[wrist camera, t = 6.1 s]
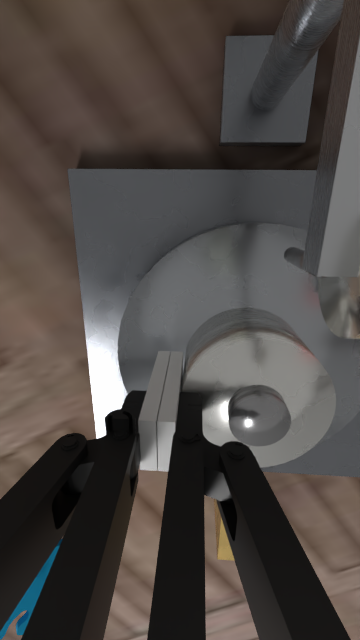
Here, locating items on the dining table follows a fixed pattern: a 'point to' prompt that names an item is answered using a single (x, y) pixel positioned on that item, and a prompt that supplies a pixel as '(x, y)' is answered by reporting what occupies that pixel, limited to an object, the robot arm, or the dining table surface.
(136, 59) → the dining table surface
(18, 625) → the blue virus model
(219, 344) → the cover
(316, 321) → the turntable
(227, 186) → the turntable base
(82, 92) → the dining table surface
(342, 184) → the dial gauge
